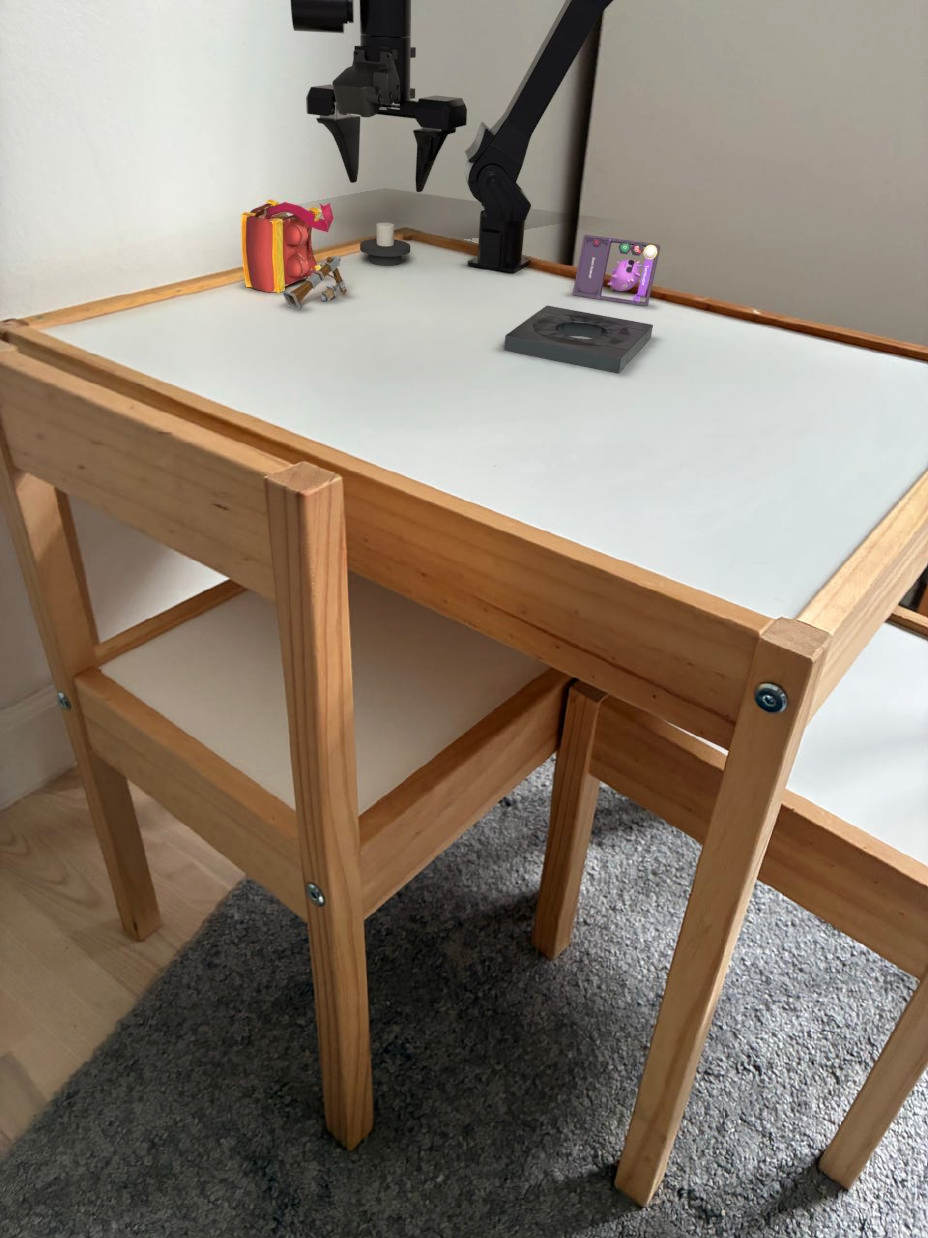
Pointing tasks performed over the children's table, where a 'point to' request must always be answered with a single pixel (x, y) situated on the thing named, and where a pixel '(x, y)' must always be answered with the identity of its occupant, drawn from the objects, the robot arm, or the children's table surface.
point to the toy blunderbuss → (317, 283)
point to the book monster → (280, 244)
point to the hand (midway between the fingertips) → (386, 186)
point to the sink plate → (553, 341)
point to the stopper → (385, 246)
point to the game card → (624, 274)
